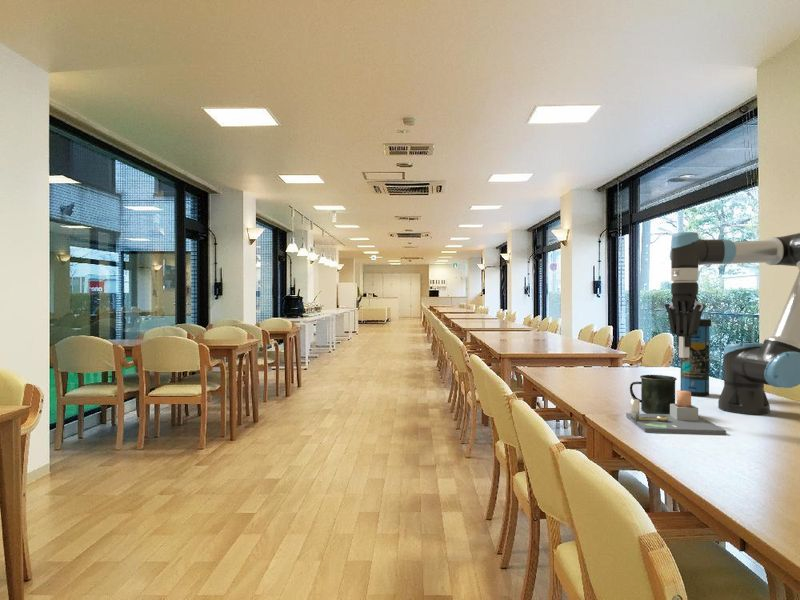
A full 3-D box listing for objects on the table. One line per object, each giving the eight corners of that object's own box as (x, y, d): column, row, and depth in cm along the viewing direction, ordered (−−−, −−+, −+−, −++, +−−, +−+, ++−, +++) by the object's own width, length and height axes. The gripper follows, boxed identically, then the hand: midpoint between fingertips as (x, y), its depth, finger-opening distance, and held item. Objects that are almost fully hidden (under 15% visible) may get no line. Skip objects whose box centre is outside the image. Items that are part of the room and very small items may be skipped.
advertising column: (672, 392, 222) (672, 318, 222) (694, 391, 226) (694, 318, 225) (694, 397, 212) (695, 320, 211) (717, 395, 215) (718, 319, 215)
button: (688, 406, 174) (688, 390, 174) (693, 409, 170) (693, 392, 170) (674, 406, 174) (674, 390, 174) (679, 408, 170) (679, 392, 170)
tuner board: (697, 418, 176) (697, 403, 176) (726, 434, 156) (726, 417, 156) (626, 416, 179) (626, 401, 179) (645, 432, 159) (645, 415, 159)
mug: (675, 417, 178) (675, 380, 178) (627, 412, 186) (627, 377, 185) (677, 411, 188) (677, 376, 187) (631, 406, 195) (631, 373, 195)
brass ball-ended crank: (666, 418, 170) (666, 399, 170) (669, 421, 166) (669, 401, 166) (629, 417, 171) (629, 398, 171) (632, 420, 168) (632, 400, 168)
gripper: (658, 282, 176) (658, 355, 176) (694, 281, 164) (693, 360, 164) (675, 282, 179) (675, 354, 179) (712, 281, 167) (711, 359, 167)
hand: (684, 357), depth 172 cm, fingers closed
